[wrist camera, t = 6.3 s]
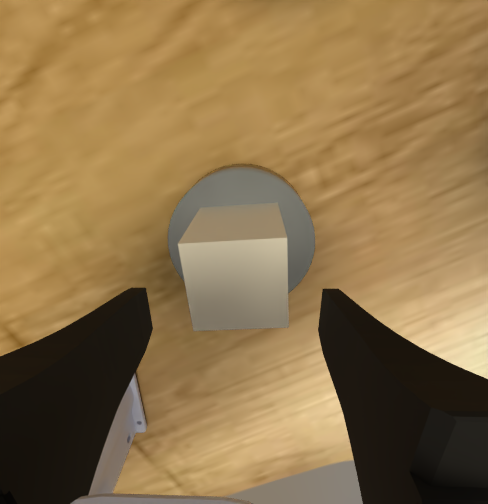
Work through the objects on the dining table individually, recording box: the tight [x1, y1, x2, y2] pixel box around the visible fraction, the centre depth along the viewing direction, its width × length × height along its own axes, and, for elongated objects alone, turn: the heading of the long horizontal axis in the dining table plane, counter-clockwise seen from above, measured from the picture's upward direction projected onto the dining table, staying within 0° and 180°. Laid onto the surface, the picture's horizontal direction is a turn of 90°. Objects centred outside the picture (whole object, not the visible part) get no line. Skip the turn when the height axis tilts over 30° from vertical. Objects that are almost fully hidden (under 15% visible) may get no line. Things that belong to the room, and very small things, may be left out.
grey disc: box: [168, 164, 315, 293], centre depth 20 cm, size 9×9×4 cm
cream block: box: [178, 203, 289, 331], centre depth 16 cm, size 4×4×6 cm
